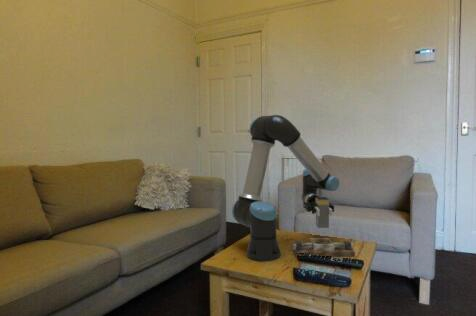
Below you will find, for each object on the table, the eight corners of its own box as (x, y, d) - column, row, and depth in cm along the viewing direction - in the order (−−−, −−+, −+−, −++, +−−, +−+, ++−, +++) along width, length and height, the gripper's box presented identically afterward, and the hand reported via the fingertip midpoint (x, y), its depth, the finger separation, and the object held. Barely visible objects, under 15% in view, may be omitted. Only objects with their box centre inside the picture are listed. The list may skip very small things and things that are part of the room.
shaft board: (294, 257, 150) (294, 245, 149) (290, 247, 162) (290, 237, 161) (356, 256, 149) (356, 244, 149) (347, 247, 161) (347, 236, 161)
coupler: (317, 227, 152) (318, 199, 151) (315, 224, 157) (315, 197, 156) (329, 227, 152) (329, 199, 151) (326, 224, 157) (326, 197, 156)
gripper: (331, 209, 172) (345, 221, 149) (296, 209, 172) (304, 221, 149) (331, 194, 172) (345, 204, 148) (296, 194, 172) (304, 204, 148)
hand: (325, 212), depth 149 cm, fingers closed on coupler, 5 cm apart
